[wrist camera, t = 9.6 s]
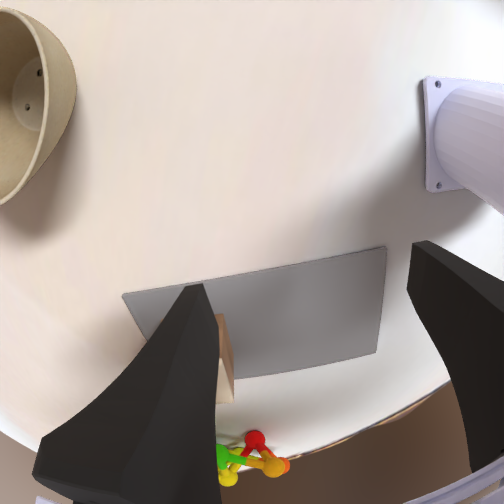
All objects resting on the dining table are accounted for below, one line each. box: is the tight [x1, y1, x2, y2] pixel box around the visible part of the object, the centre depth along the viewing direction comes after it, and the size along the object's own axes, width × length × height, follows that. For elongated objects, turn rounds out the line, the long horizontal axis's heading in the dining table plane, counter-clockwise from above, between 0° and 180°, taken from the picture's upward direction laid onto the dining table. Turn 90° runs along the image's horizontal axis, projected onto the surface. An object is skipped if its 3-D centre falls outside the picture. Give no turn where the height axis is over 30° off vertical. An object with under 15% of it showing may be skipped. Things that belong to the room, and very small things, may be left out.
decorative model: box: [216, 431, 290, 486], centre depth 33 cm, size 13×9×15 cm
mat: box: [122, 247, 387, 380], centre depth 25 cm, size 20×12×1 cm, turn 101°
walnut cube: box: [161, 314, 234, 404], centre depth 23 cm, size 5×5×5 cm
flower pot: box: [0, 7, 77, 206], centre depth 11 cm, size 10×10×7 cm
